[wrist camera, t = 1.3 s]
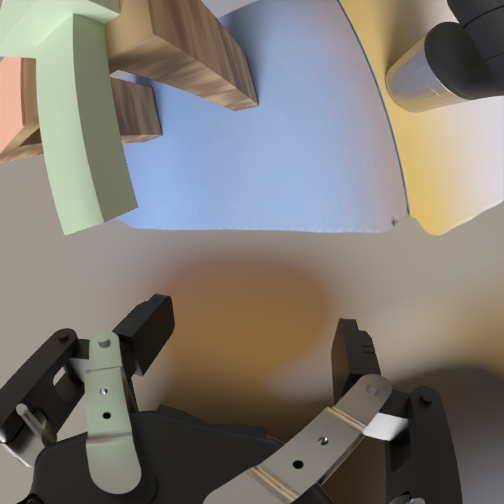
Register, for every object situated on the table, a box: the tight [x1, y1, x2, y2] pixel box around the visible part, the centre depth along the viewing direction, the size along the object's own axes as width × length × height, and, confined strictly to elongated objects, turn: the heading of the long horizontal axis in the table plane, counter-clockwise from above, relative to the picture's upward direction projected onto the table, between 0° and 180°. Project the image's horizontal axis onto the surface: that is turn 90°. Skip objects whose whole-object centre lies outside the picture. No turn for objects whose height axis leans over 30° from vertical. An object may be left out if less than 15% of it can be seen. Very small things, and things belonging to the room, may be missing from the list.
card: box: [0, 56, 25, 153], centre depth 13 cm, size 8×10×1 cm
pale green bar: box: [0, 0, 138, 235], centre depth 9 cm, size 6×20×6 cm, turn 13°
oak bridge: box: [0, 0, 258, 163], centre depth 26 cm, size 22×10×32 cm, turn 103°
